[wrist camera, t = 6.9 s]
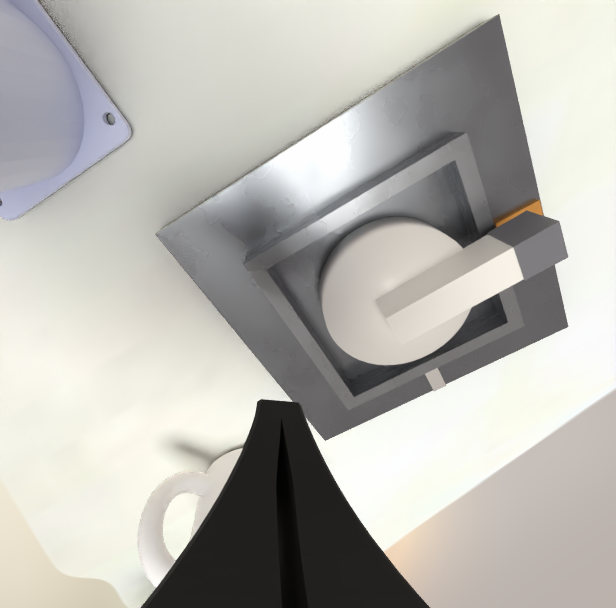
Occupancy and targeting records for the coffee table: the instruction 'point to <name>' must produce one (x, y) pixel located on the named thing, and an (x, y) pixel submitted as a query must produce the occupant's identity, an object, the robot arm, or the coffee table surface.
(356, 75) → the coffee table surface
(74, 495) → the coffee table surface
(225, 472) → the mug
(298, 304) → the panel
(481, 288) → the dial
